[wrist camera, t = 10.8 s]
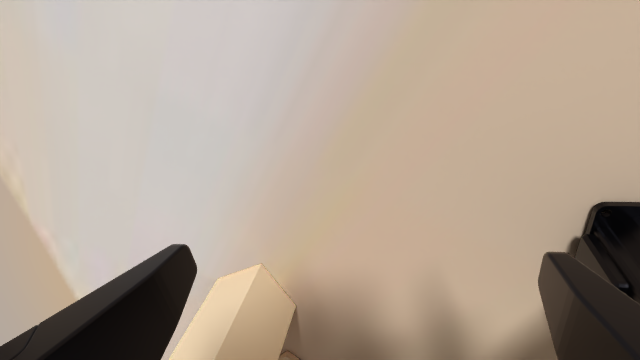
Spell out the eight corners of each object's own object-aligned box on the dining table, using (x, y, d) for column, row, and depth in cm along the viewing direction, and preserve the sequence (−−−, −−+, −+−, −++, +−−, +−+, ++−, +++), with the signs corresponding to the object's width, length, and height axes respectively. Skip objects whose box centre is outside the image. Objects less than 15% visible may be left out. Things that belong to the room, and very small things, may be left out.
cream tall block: (261, 263, 29) (192, 404, 20) (296, 305, 31) (247, 453, 21) (217, 278, 31) (136, 412, 22) (252, 317, 33) (191, 456, 23)
